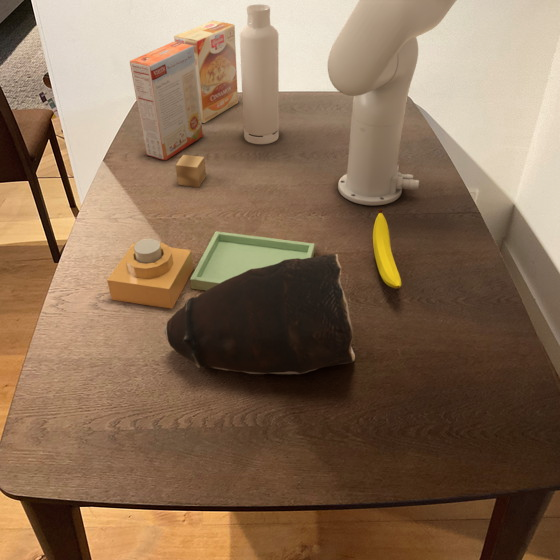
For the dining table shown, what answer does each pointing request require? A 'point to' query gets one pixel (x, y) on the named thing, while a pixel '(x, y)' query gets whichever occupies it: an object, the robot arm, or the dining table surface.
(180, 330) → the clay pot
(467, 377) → the dining table surface
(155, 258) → the grey button cap
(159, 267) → the button base
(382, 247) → the banana
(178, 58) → the cracker box
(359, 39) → the robot arm
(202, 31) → the coffeecake box
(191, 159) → the block
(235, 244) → the tray
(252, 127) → the bottle
